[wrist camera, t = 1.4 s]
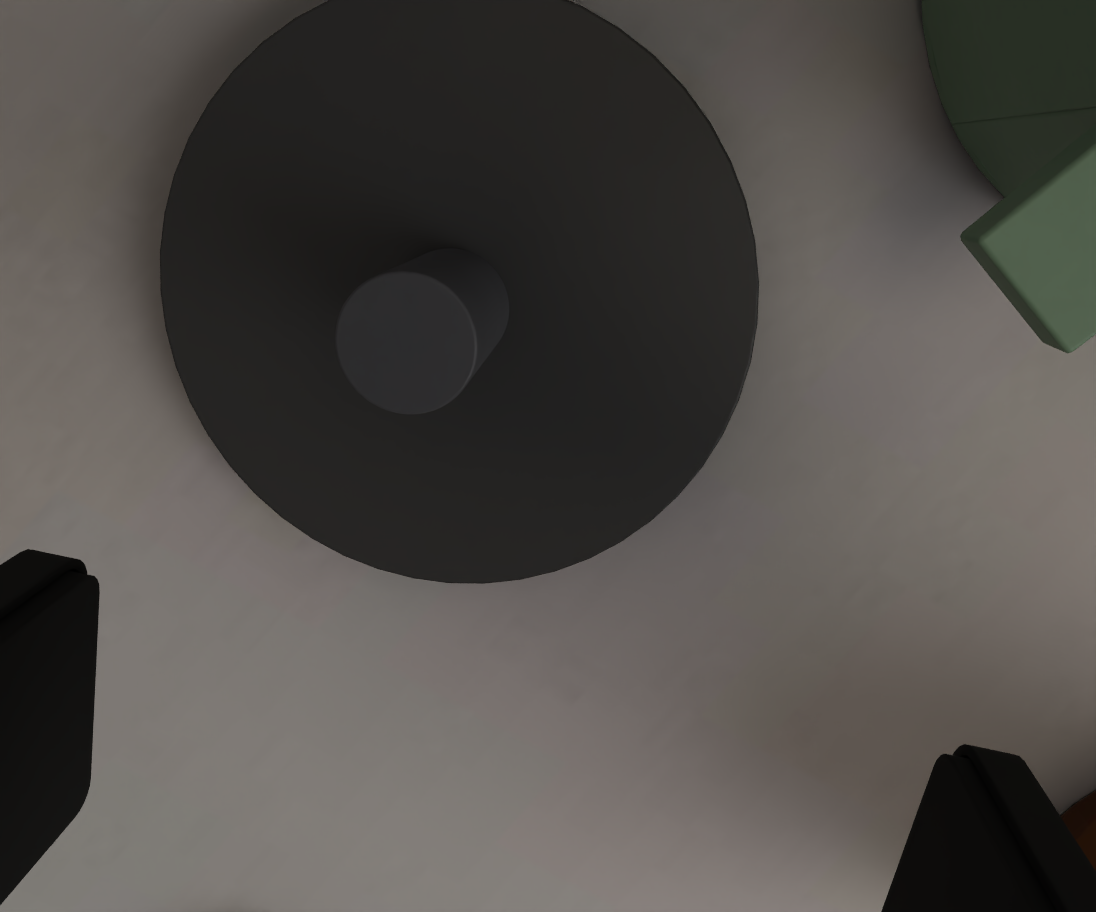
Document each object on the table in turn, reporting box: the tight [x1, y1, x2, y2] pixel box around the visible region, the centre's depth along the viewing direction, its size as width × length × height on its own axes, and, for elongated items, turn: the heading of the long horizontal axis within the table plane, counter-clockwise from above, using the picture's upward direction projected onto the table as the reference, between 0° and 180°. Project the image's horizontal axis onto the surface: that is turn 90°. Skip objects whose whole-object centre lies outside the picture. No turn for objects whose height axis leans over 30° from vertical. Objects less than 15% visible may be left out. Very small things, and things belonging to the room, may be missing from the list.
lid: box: [160, 0, 759, 583], centre depth 22 cm, size 15×15×6 cm
